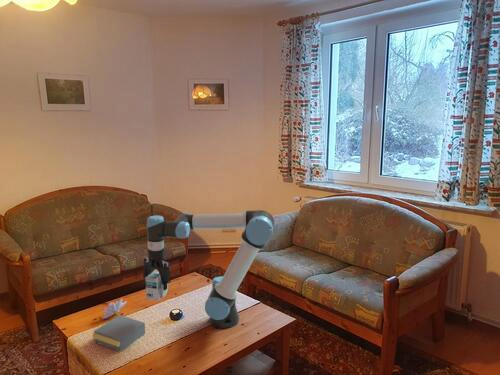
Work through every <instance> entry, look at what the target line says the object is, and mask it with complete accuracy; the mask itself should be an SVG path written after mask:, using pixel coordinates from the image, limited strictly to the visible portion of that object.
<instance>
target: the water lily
mask: <svg viewBox="0 0 500 375" xmlns="http://www.w3.org/2000/svg"><path fill="white" fill-rule="evenodd" d="M123 300H124V298H123V297H122V298H120V299H119V301H118V300H117V301H116V303H114V302H112V301H111V302H110V303H108V304H107V306H108V307H104V308H103V309H104V310H103V311H101V312H100V313H101V314H104V317H102V318H101V320H105V319H107V318H109V317H112V315H113V314H115V316H116V317H118V316H119V315H118V313H119V312H120V310H121V309H122V308H123V307H124V306H125V305H126V304H127V302H128V301H127V300H126V301H124V302H123Z"/></svg>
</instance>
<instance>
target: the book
mask: <svg viewBox="0 0 500 375" xmlns="http://www.w3.org/2000/svg"><path fill="white" fill-rule="evenodd" d="M145 324H146V323H145V322H143V321H141V320H137V319H134V318H131V317H128V316H124V315H121V314H120V315H118V317H117V316H116V317H114V318H113V319H111V320H109V321H107V322H106V323H104V324H103V325H102V326H100V327H98V328H96V329H95V330H93V333H92V338H93V339H94V343H95V342H97V343H96V344H98V343H100V344H103V345H105V346H104V347H106V346H108V347H110V348H109V349H111V348H113V349H112V350H114V349H115V350H114V351H117V350H118V351H117V352H119V351H121V352H123V351H124V350H125V349H126V348H128V347H129V346H131V345H132V344H134V343H135V342H136V341H138V340H139V339H140V338H142V337H144V334H145V335H146V325H145ZM141 336H142V337H141ZM137 339H138V340H137ZM134 341H135V342H134ZM131 343H132V344H131ZM100 344H99V345H100ZM130 344H131V345H130ZM103 345H102V346H103ZM127 346H128V347H127ZM108 347H107V348H108ZM124 348H125V349H124ZM123 349H124V350H123Z"/></svg>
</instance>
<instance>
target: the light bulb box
mask: <svg viewBox="0 0 500 375" xmlns="http://www.w3.org/2000/svg"><path fill="white" fill-rule="evenodd" d="M144 279H145V299H146V300H153V301H161V299H162V298H163V297H162V296H161V284H162V280H161V277H160V274H159V271H158V270H157V269H154V271H153V272H152V273H151V274H149V275H148V276H147V277H146V278H145V277H144ZM168 292H169V283H167V289H166V294H167V293H168Z"/></svg>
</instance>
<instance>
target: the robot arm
mask: <svg viewBox="0 0 500 375" xmlns="http://www.w3.org/2000/svg"><path fill="white" fill-rule="evenodd" d="M274 227H275V219H274V217H273V215H272V214H271V213H270V212H268V211H266V210H261V209H259V210H258V209H257V210H245V211H244V212H236V213H231V212H230V213H207V214H205V213H204V214H191V213H188V212H184V213H182V214H180V215H178V217H177V218H176V219H174V221H173V220H171V221H167V220H165V219H164V216H162V215H151V216H150V215H149V217H147V219H146V234H147V257H145V258H143V273H142V277H143V278H144V279H145V278H146V277H147V276H148V275H149V274H151V273H152V272H153V271H154V270H155V269H156V270H158V271H159V274H160V277H161V280H162V284H161V296H162V298H164V297H165V296H167V293H166V289H167V283H168V284H170V282H171V283H172V279H171V273H170V262H169V261H165V259H164V257H165V238H169V239H171V238H173V239H186V238H189V235H190V233H191V232H190V231H195V230H234V229H235V230H239V229H240V230H241V229H243V230H244V231H242V232H243V233H242V234H241V240H242V241H241V243H240V245H239V247H238V249H237V250H236V252H235V254H234V256H233V257H232V260H231V262H230V264H228V267H227V269H226V271H225V272H224V274H223V275H222V276H216V277H214V278H213V279H212V283H211V284H212V287H211V288H212V289H211V291H210V293H209V295H208V297H207V299H206V301H205V303H204V311H205V313H206V315H207V316H208V317H209V323H210V325H212V326H214V327H215V328H219V329H227V328H228V329H229V328H231V327H235V326H236V325H237V324H239V322H240V315H239V312H238V309H237V306H236V302H237V301H236V299H237V298H238V294H237V291H238V289H239V287H240V285H241V283H242V282H243V280H244V278H245V277H246V274H248V273H247V272H248V271H249V269H250V267H251V265H252V264H253V261H254V260H255V258H256V257H257V255H258V253H259V251H261V250H264V249H265V247H266V245H267V243H268V242H269V241H270V240H271V239H272V237H273V234H274Z"/></svg>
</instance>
